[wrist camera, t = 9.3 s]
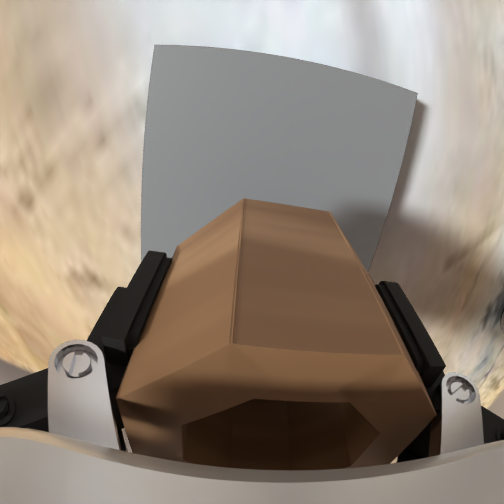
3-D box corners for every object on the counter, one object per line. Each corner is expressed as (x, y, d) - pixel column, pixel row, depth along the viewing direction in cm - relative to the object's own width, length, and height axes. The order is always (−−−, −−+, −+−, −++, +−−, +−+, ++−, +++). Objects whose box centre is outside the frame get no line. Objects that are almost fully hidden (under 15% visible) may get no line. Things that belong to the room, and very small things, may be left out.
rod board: (163, 48, 13) (154, 44, 11) (404, 91, 14) (417, 93, 12) (150, 318, 20) (145, 333, 19) (330, 339, 21) (334, 355, 20)
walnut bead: (180, 189, 9) (97, 320, 4) (384, 221, 10) (484, 352, 5) (174, 346, 12) (143, 482, 7) (330, 362, 13) (357, 492, 8)
